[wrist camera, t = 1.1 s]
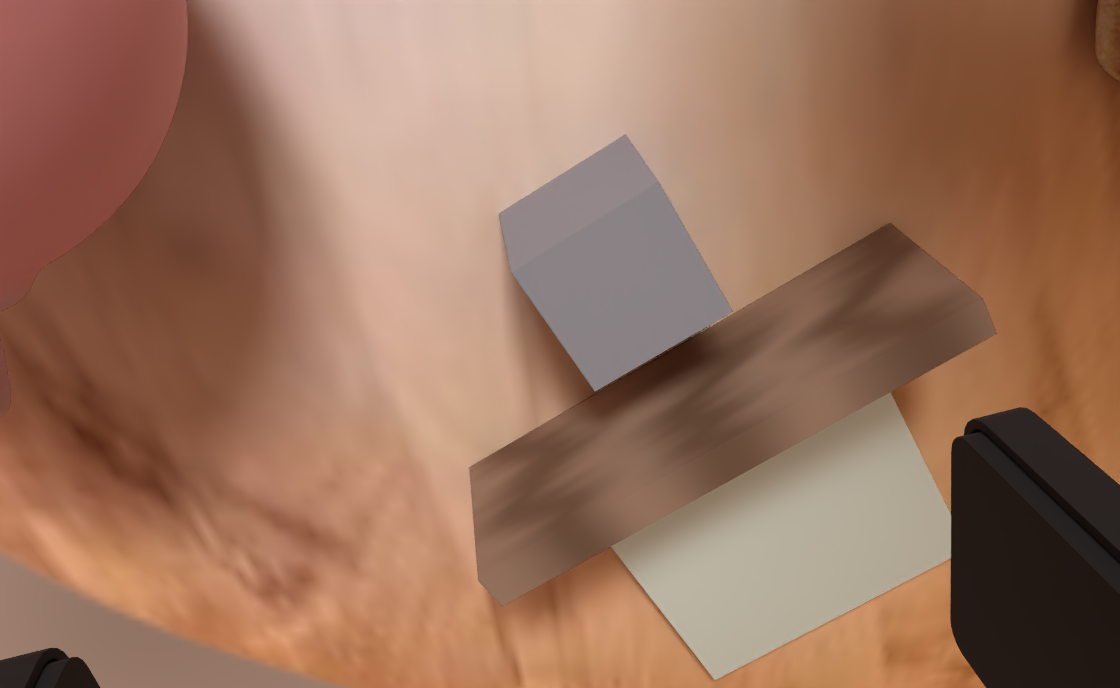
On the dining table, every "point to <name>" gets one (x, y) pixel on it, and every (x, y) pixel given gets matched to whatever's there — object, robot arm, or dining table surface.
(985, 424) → the robot arm
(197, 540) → the dining table surface
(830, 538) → the display mat
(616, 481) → the walnut screen
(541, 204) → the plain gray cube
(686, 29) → the dining table surface
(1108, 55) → the stone cup
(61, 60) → the balloon
